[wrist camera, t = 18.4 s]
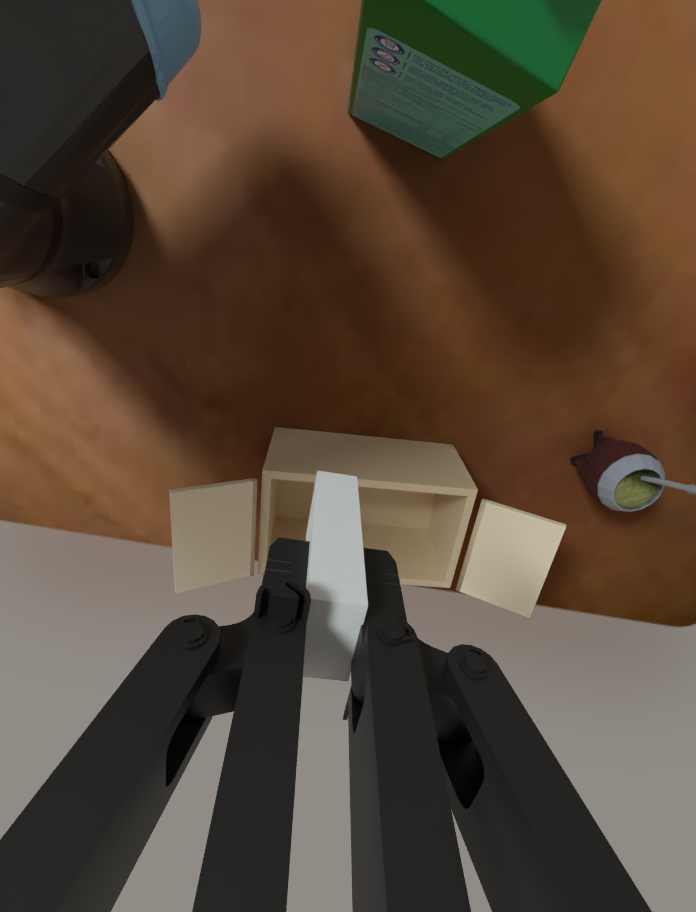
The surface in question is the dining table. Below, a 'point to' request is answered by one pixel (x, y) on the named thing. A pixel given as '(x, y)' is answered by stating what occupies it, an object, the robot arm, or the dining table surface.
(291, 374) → the dining table surface
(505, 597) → the flap right
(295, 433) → the carton
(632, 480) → the mate gourd
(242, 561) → the flap left
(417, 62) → the milk carton
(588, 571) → the dining table surface
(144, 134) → the dining table surface
